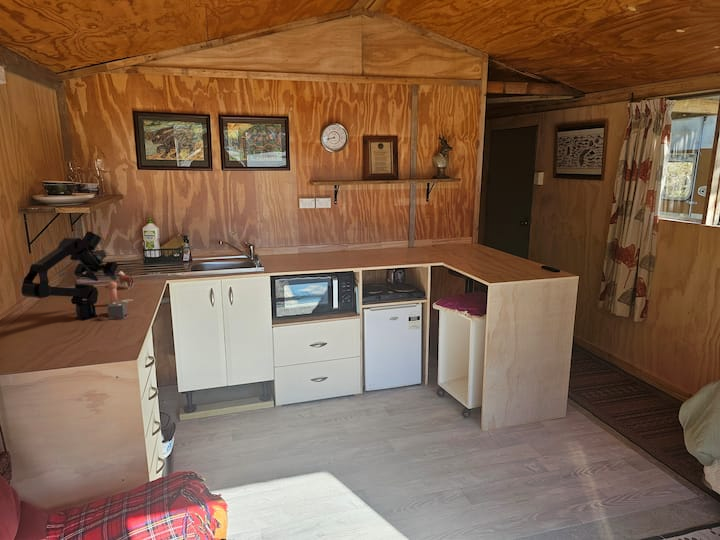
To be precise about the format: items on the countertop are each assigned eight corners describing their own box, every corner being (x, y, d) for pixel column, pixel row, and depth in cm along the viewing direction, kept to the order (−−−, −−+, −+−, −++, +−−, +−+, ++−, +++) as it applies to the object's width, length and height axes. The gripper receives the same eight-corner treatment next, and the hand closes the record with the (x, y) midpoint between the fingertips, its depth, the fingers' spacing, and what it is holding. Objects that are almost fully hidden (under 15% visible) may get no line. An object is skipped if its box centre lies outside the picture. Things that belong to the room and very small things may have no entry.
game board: (115, 309, 231) (115, 306, 231) (105, 308, 233) (105, 305, 233) (136, 302, 243) (136, 299, 243) (126, 301, 245) (126, 298, 245)
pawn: (112, 306, 231) (110, 282, 229) (108, 304, 233) (105, 281, 231) (120, 304, 234) (118, 281, 232) (115, 303, 236) (113, 280, 234)
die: (123, 319, 218) (122, 305, 216) (108, 319, 216) (107, 305, 215) (127, 315, 223) (125, 301, 222) (112, 315, 222) (111, 302, 221)
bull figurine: (123, 284, 277) (122, 270, 275) (136, 288, 268) (134, 273, 267) (116, 286, 273) (114, 271, 272) (128, 290, 265) (126, 275, 263)
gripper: (112, 243, 221) (131, 265, 233) (75, 245, 224) (95, 266, 236) (103, 263, 214) (122, 284, 226) (64, 265, 217) (85, 286, 229)
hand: (106, 280), depth 230 cm, fingers open, 9 cm apart
